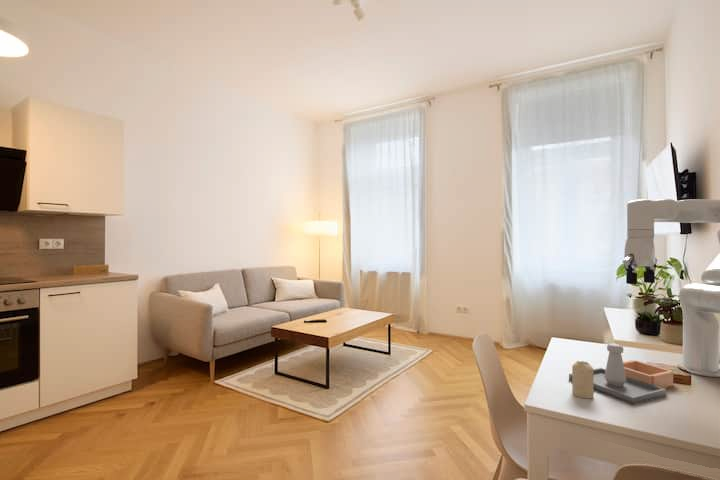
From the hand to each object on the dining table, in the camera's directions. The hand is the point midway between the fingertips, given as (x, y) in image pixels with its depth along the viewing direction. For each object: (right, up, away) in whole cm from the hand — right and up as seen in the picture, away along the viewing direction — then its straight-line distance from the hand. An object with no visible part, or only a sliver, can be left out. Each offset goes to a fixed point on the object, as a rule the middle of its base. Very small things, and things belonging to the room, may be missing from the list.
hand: (640, 283), depth 127 cm
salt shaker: (-17, -32, -11) cm, 38 cm away
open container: (-4, -32, -6) cm, 33 cm away
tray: (-17, -32, -11) cm, 38 cm away
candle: (-31, -32, -17) cm, 48 cm away
